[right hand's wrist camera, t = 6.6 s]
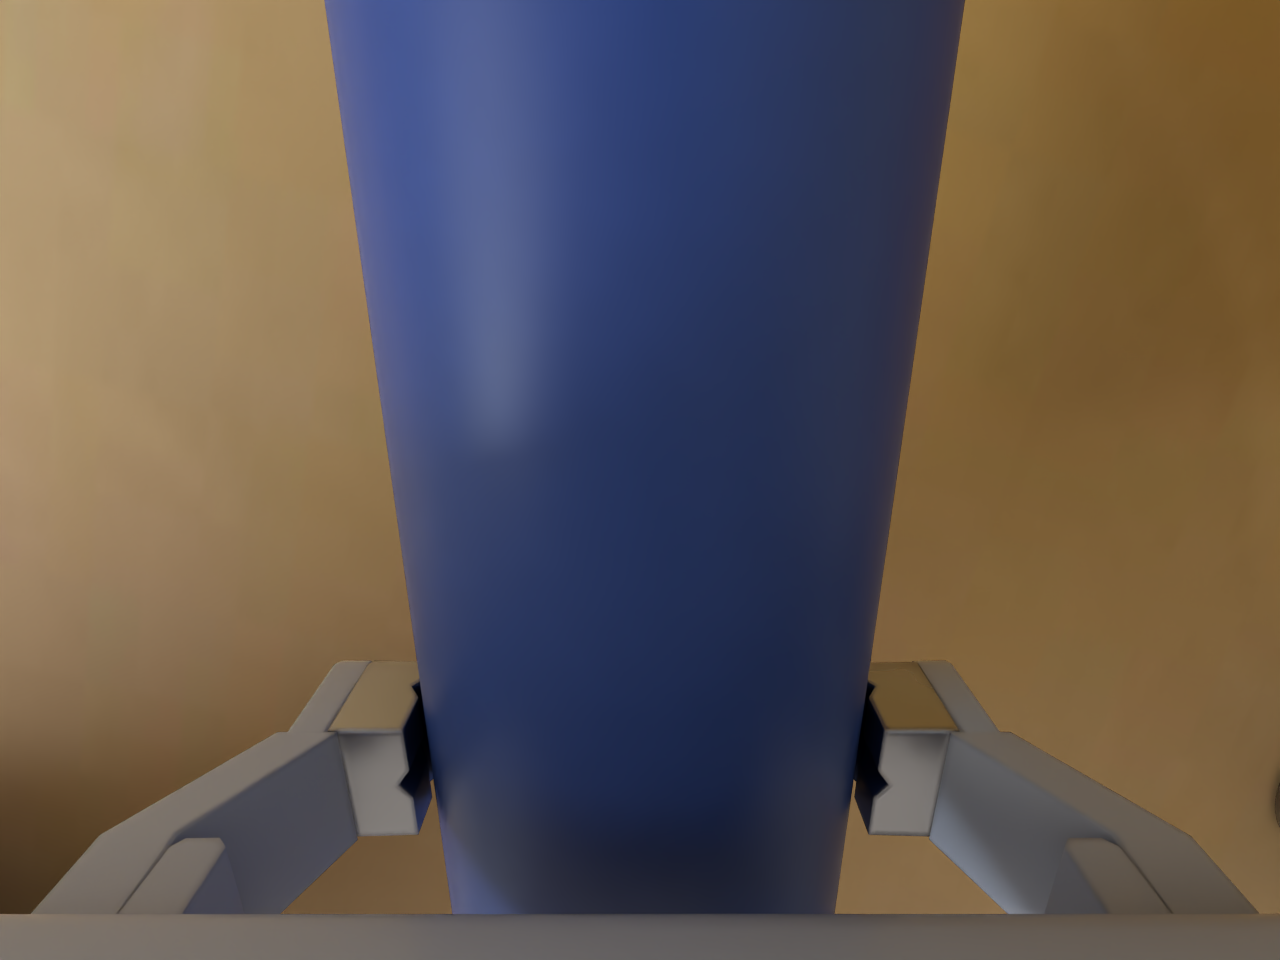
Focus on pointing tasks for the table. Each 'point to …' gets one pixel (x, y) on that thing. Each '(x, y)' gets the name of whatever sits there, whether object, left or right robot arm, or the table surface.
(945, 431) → the table surface
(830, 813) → the rod
